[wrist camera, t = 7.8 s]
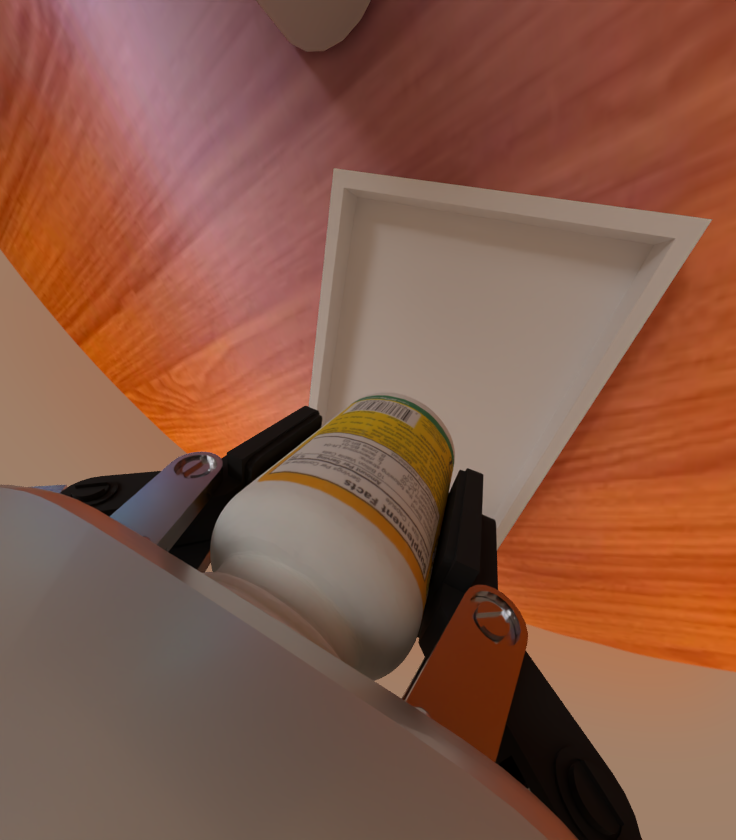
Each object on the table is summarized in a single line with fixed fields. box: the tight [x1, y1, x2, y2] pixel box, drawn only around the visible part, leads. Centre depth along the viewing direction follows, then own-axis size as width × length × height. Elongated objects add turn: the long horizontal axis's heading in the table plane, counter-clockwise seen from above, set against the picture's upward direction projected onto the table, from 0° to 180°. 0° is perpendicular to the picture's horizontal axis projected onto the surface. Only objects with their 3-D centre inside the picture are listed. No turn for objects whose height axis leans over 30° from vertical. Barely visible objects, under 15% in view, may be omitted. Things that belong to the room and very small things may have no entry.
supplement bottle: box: [203, 392, 455, 681], centre depth 8 cm, size 5×5×10 cm
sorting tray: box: [309, 168, 712, 550], centre depth 20 cm, size 22×18×2 cm
